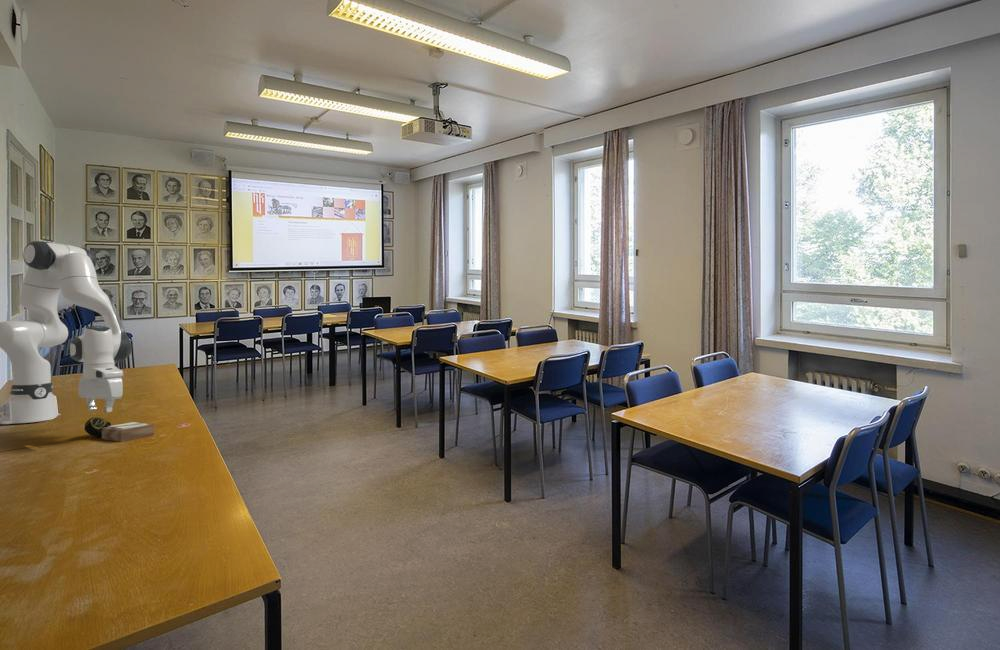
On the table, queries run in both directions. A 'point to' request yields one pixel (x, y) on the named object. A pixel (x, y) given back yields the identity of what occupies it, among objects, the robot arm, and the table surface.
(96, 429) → the tape measure
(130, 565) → the table surface
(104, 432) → the brown white square block
